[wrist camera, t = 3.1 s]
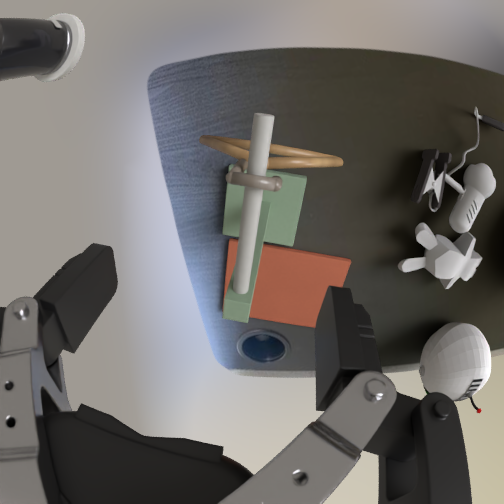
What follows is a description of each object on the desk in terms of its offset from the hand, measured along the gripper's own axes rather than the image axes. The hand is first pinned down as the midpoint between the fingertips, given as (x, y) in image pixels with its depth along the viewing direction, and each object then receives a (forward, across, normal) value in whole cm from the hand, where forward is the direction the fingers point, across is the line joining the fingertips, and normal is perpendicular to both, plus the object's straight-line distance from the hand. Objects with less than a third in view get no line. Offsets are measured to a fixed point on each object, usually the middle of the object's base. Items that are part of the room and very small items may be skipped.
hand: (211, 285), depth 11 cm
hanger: (+20, -1, -1) cm, 20 cm away
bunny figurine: (+30, -28, +11) cm, 43 cm away
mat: (+30, -5, +22) cm, 38 cm away
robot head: (+30, -39, +28) cm, 57 cm away
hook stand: (+30, 0, +5) cm, 30 cm away
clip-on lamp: (+30, -26, -4) cm, 40 cm away
